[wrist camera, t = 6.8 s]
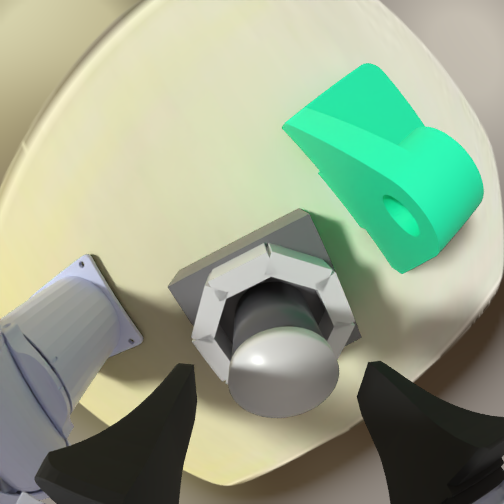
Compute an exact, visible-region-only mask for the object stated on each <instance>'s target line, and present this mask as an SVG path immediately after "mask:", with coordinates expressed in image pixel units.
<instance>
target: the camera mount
mask: <svg viewBox="0 0 504 504" xmlns="http://www.w3.org/2000/svg"><path fill="white" fill-rule="evenodd" d="M282 129H283V130H284V131H285V132H286V133H287V134H288V135H289V136H290V137H291V138H292V139H293V141H294V142H295V143H296V144H297V145H298V146H299V147H300V148H301V149H302V151H303V152H304V153H305V154H306V155H307V156H308V157H309V159H310V160H311V161H312V162H313V163H314V164H315V166H316V167H317V168H318V169H319V170H320V172H319V173H318V174H319V175H320V176H321V177H322V179H323V180H324V181H325V182H326V183H327V185H328V186H329V187H330V188H331V190H332V191H333V192H334V193H335V194H336V196H337V197H338V198H339V200H340V201H341V202H342V203H343V205H344V206H345V207H346V208H347V210H348V211H349V212H350V214H351V215H352V216H353V218H354V219H355V220H356V222H357V223H358V224H359V226H360V227H362V228H364V229H366V230H367V232H368V233H369V235H370V236H371V237H372V239H373V240H374V242H375V243H376V245H377V246H378V247H379V249H380V250H381V252H382V253H383V255H384V256H385V258H386V259H387V261H388V262H389V264H390V265H391V267H392V268H394V269H395V270H397V271H398V272H400V273H401V274H403V273H405V272H407V271H409V270H411V269H413V268H415V267H417V266H419V265H421V264H422V263H424V262H426V261H428V260H430V259H432V258H433V257H435V256H437V255H438V254H439V253H440V251H441V250H442V249H443V248H444V247H445V246H446V245H447V244H448V242H449V241H450V240H451V239H452V238H453V237H454V236H455V234H456V233H457V232H458V231H459V230H460V228H461V227H462V226H463V225H464V224H465V222H466V221H467V220H468V219H469V217H470V216H471V215H472V214H473V212H474V211H475V210H476V208H477V207H478V206H479V204H480V203H481V201H482V199H483V194H484V189H483V183H482V179H481V176H480V173H479V171H478V169H477V167H476V165H475V163H474V162H473V160H472V158H471V157H470V156H469V154H468V153H467V152H466V151H465V149H464V148H463V147H462V146H461V145H460V144H459V143H458V142H456V141H455V140H454V139H453V138H451V137H450V136H449V135H447V134H445V133H444V132H442V131H440V130H437V129H435V128H431V127H425V126H424V124H423V123H422V121H421V120H420V118H419V117H418V116H417V114H416V113H415V111H414V110H413V109H412V107H411V106H410V104H409V103H408V102H407V100H406V99H405V98H404V96H403V95H402V94H401V93H400V91H399V90H398V89H397V87H396V86H395V85H394V84H393V83H392V81H391V80H390V79H389V78H388V77H387V75H386V74H385V73H384V72H383V71H382V70H381V69H380V68H379V67H377V66H376V65H373V64H369V63H366V64H363V65H361V66H359V67H358V68H357V69H355V70H354V71H352V72H351V73H349V74H348V75H347V76H345V77H344V78H342V79H341V80H340V81H338V82H337V83H336V84H334V85H333V86H332V87H330V88H329V89H328V90H326V91H325V92H324V93H322V94H321V95H320V96H318V97H317V98H316V99H314V100H313V101H312V102H311V103H309V104H308V105H307V106H305V107H304V108H303V109H302V110H300V111H299V112H298V113H297V114H295V115H294V116H293V117H292V118H290V119H289V120H288V121H287V122H286V123H285V124H284V125H283V127H282Z"/></svg>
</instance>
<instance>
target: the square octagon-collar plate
mask: <svg viewBox="0 0 504 504" xmlns="http://www.w3.org/2000/svg"><path fill="white" fill-rule="evenodd" d="M265 282H282V283H286V284H289V285H291V286H293V287H294V288H296V289H297V290H298V291H299V292H300V293H301V294H302V295H303V296H304V298H305V300H306V302H307V304H308V306H309V308H310V310H311V312H312V314H313V316H314V318H315V320H316V322H317V325H318V327H319V329H320V331H321V333H322V335H323V337H324V339H325V340H326V341H327V343H328V344H329V345H330V347H331V349H332V351H333V353H334V355H335V357H336V359H338V358H339V356H340V354H341V352H342V350H343V348H344V347H345V346H346V345H348V344H350V343H352V342H354V341H356V340H358V339H360V338H361V334H360V332H359V329H358V326H357V324H356V321H355V319H354V316H353V314H352V311H351V308H350V306H349V303H348V301H347V298H346V296H345V294H344V291H343V289H342V286H341V284H340V281H339V279H338V277H337V274H336V272H335V270H334V267H333V265H332V263H331V260H330V258H329V256H328V254H327V251H326V249H325V247H324V245H323V242H322V240H321V238H320V236H319V234H318V231H317V229H316V227H315V225H314V223H313V221H312V218H311V216H310V214H309V213H307V212H305V211H303V210H301V209H300V208H299V209H297V210H295V211H293V212H291V213H289V214H287V215H285V216H283V217H281V218H279V219H277V220H275V221H273V222H271V223H269V224H267V225H265V226H263V227H261V228H259V229H257V230H256V231H254V232H252V233H250V234H248V235H246V236H244V237H242V238H240V239H238V240H236V241H234V242H232V243H230V244H229V245H227V246H225V247H223V248H221V249H219V250H217V251H215V252H213V253H211V254H210V255H208V256H206V257H204V258H202V259H200V260H198V261H196V262H194V263H192V264H191V265H189V266H187V267H185V268H183V269H181V270H179V271H178V273H177V274H176V276H175V277H174V278H173V280H172V281H171V283H170V284H169V285H168V288H169V290H170V291H171V293H172V294H173V296H174V298H175V299H176V301H177V302H178V304H179V305H180V307H181V308H182V310H183V311H184V313H185V314H186V316H187V317H188V319H189V320H190V322H191V323H192V325H193V326H194V328H193V332H192V336H191V338H193V340H192V343H193V344H194V345H195V347H196V348H197V349H198V351H199V352H200V354H201V355H202V356H203V358H204V359H205V360H206V362H207V363H208V364H209V366H210V367H211V368H212V369H213V371H214V372H215V373H216V375H217V376H218V377H219V378H220V380H221V381H224V380H226V382H225V384H228V376H229V365H230V361H231V358H232V349H233V332H234V316H235V309H236V306H237V303H238V301H239V300H240V298H241V297H242V295H243V294H244V293H245V292H246V291H248V290H249V289H250V288H252V287H254V286H256V285H258V284H261V283H265Z"/></svg>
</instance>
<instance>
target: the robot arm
mask: <svg viewBox="0 0 504 504" xmlns="http://www.w3.org/2000/svg"><path fill="white" fill-rule="evenodd" d="M81 262H83V263H84V266H83V265H82V263H81ZM130 339H133V340H134V342H132V341H131V340H130ZM142 341H143V336H142V335H141V333H140V332H139V331H138V329H137V328H136V326H135V325H134V323H133V322H132V321H131V319H130V318H129V316H128V315H127V313H126V312H125V310H124V309H123V307H122V306H121V304H120V303H119V301H118V300H117V298H116V296H115V295H114V293H113V292H112V290H111V289H110V287H109V285H108V284H107V282H106V280H105V279H104V277H103V275H102V274H101V272H100V270H99V269H98V267H97V265H96V263H95V262H94V260H93V258H92V257H91V255H89V254H85V255H83V256H82V257H80V258H79V259H78V260H76V261H75V262H74V263H72V264H71V265H70V266H68V267H67V268H66V269H64V270H63V271H62V272H61V273H59V274H58V275H57V276H55V277H54V278H53V279H52V280H50V281H49V282H48V283H47V284H45V285H44V286H43V287H42V288H41V289H39V290H38V291H37V292H36V293H35V294H33V295H32V296H31V297H30V298H29V299H28V300H27V301H25V302H24V303H23V304H21V305H20V306H18V307H17V308H15V309H14V310H12V311H11V312H9V313H8V314H7V315H5V316H4V317H2V318H1V319H0V504H45V503H43V502H42V501H40V500H42V499H46V498H49V497H50V498H51V499H52V500H53V501H54V502H55V503H57V504H179V494H180V485H181V477H182V470H183V465H184V460H185V456H186V452H187V449H188V445H189V441H190V437H191V433H192V429H193V425H194V421H195V414H196V406H197V394H196V384H195V374H194V365H191V364H180V363H179V364H177V365H176V366H175V368H174V369H173V370H172V371H171V372H170V374H169V375H168V376H167V377H166V378H165V379H164V381H163V382H162V383H161V384H160V385H159V386H158V387H157V388H156V389H155V390H154V391H153V392H152V393H151V394H150V395H149V396H148V397H147V398H146V399H145V400H144V401H143V402H142V403H141V404H140V405H139V406H138V407H136V408H135V409H134V410H133V411H132V412H130V413H129V414H128V415H126V416H125V417H124V418H122V419H121V420H120V421H118V422H117V423H115V424H114V425H112V426H110V427H109V428H107V429H106V430H104V431H102V432H100V433H99V434H97V435H95V436H92V437H90V438H88V439H86V440H84V441H82V442H79V443H76V444H74V445H71V443H70V442H69V440H68V439H67V438H68V436H69V434H70V432H71V431H72V429H73V427H74V426H73V424H72V422H71V420H70V414H71V413H72V411H73V410H74V408H75V407H76V405H77V403H78V402H79V400H80V399H81V397H82V396H83V394H84V393H85V391H86V390H87V388H88V387H89V385H90V384H91V382H92V381H93V379H94V378H95V376H96V375H97V373H98V372H99V370H100V369H101V367H102V366H103V364H104V363H105V362H106V360H107V359H108V358H109V357H111V356H114V355H116V354H118V353H121V352H123V351H126V350H128V349H130V348H133V347H135V346H137V345H140V344H141V343H142ZM357 399H358V403H359V407H360V410H361V414H362V417H363V419H364V421H365V424H366V426H367V428H368V430H369V432H370V435H371V437H372V439H373V441H374V444H375V446H376V448H377V451H378V453H379V456H380V458H381V461H382V465H383V469H384V472H385V476H386V480H387V485H388V490H389V496H390V503H391V504H504V470H503V469H502V468H501V466H502V465H503V464H504V461H503V460H502V456H503V455H504V417H497V416H490V415H485V414H480V413H476V412H472V411H469V410H466V409H463V408H460V407H458V406H455V405H453V404H450V403H448V402H446V401H444V400H442V399H439V398H438V397H436V396H434V395H432V394H430V393H429V392H427V391H425V390H424V389H422V388H420V387H419V386H417V385H416V384H414V383H413V382H411V381H410V380H408V379H407V378H405V377H404V376H402V375H401V374H399V373H398V372H397V371H395V370H394V369H392V368H391V367H389V366H388V365H386V364H385V363H383V362H381V361H376V362H368V364H367V368H366V371H365V374H364V377H363V380H362V383H361V386H360V389H359V392H358V395H357Z"/></svg>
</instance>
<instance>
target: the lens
mask: <svg viewBox="0 0 504 504" xmlns="http://www.w3.org/2000/svg"><path fill="white" fill-rule="evenodd" d="M338 377H339V365H338V362H337V359H336V357H335V355H334V353H333V351H332V349H331V347H330V345H329V344H328V343H327V341H326V340H325V339H324V337H323V335H322V333H321V331H320V329H319V327H318V325H317V322H316V320H315V318H314V316H313V314H312V312H311V310H310V308H309V306H308V304H307V302H306V300H305V298H304V296H303V295H302V294H301V293H300V292H299V291H298V290H297V289H296V288H294V287H293V286H291V285H289V284H286V283H282V282H265V283H261V284H258V285H256V286H254V287H252V288H250V289H249V290H248V291H246V292H245V293H244V294H243V295H242V297H241V298H240V300H239V301H238V303H237V306H236V309H235V316H234V332H233V349H232V358H231V361H230V365H229V376H228V387H229V391H230V394H231V396H232V397H233V399H234V400H235V402H236V403H237V404H238V405H239V406H241V407H242V408H243V409H245V410H247V411H248V412H250V413H253V414H255V415H259V416H263V417H269V418H285V417H292V416H296V415H299V414H302V413H305V412H307V411H309V410H311V409H313V408H315V407H316V406H318V405H319V404H321V403H322V402H323V401H324V400H326V398H327V397H328V396H329V395H330V394H331V393H332V391H333V390H334V388H335V386H336V384H337V381H338Z"/></svg>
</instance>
